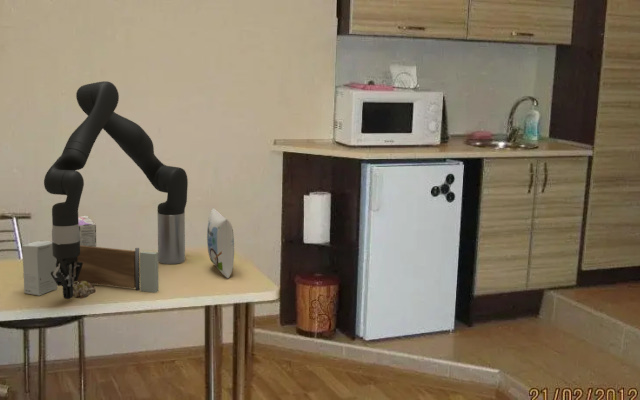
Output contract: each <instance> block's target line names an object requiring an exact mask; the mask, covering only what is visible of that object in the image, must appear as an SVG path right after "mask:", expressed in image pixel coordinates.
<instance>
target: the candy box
mask: <svg viewBox="0 0 640 400" xmlns="http://www.w3.org/2000/svg"><path fill="white" fill-rule="evenodd" d="M78 224H79V230H80V245H82V246H92V247H97V224H96V223H95V222H94V221H93V220H92V219H91V218H90V217H89V216H88V215H81V216H79V215H78Z"/></svg>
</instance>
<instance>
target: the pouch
mask: <svg viewBox="0 0 640 400" xmlns="http://www.w3.org/2000/svg"><path fill="white" fill-rule="evenodd" d="M206 231H207V232H206V235H207V236H206V238H207V239H206V240H207V252H208V256H209V259H210V261H211V263H212V264H213V265H214V266H215V267H216V269H217V270H219V272H220V273H221V274H222V275H223V276H224V277H225V278H226V279H230V276H231V275H232V272H233V268H234V262H235V237H234V236H235V235H234V229H233V226H232V223H231V222H230V220H229V219H227V218H225V216H223V215H222V214H221V213H220V212H219V211H218V210H216V209H215V208H214V207H212V209H211V211H210V213H209V217H208V221H207V230H206Z"/></svg>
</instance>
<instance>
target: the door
mask: <svg viewBox="0 0 640 400" xmlns="http://www.w3.org/2000/svg"><path fill="white" fill-rule="evenodd" d="M77 258H78V261H79V262H82V263H83V265H82V268H81V271H80V274H79V277H78V280H77V281H75V282H76V283H77V282H81V281H87V282H88V283H90V284H92V285H101V286H109V287H110V286H112V287H119V288H128V289H136V270H135V250H132V249H120V248H110V247H101V246H96V247H92V246H82V245H80V255H79V256H77ZM75 282H74V283H75Z"/></svg>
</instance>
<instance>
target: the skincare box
mask: <svg viewBox="0 0 640 400" xmlns="http://www.w3.org/2000/svg"><path fill="white" fill-rule="evenodd" d="M21 246H22V268H23V292H24V294H29V295H33V296H42V295H44V294H48V293H49V292H51V291H56V290H57V289H58V285H57V283H56V282H55V280H54V279H53V277H52V276H51V272H52V271H55V269H56V258H55V257H54V256H53V250H52V240H51V241H49V240H38V241H33V242H30V243H26V244H23V245H21Z"/></svg>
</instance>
